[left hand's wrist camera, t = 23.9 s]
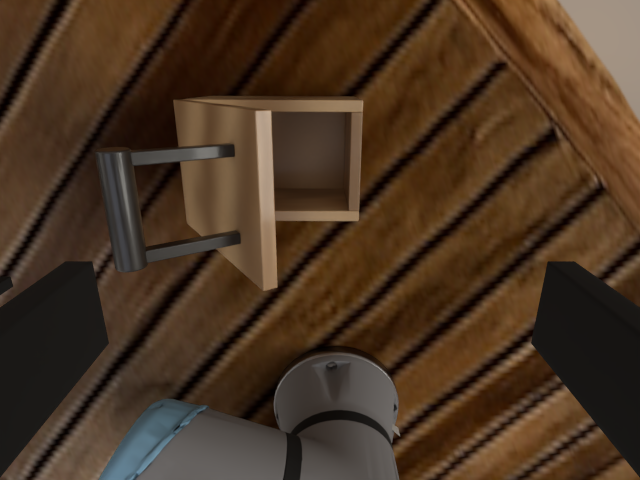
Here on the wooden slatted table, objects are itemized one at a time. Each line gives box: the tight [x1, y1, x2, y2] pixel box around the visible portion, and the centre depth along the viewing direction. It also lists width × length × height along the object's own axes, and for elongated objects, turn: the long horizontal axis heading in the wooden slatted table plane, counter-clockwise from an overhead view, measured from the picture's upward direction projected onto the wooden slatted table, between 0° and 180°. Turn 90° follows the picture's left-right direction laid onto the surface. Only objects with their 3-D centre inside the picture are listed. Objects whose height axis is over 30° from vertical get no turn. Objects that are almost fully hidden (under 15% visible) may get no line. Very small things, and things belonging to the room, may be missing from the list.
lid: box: [94, 100, 277, 291], centre depth 26 cm, size 14×10×8 cm
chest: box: [182, 96, 363, 221], centre depth 39 cm, size 14×10×9 cm
